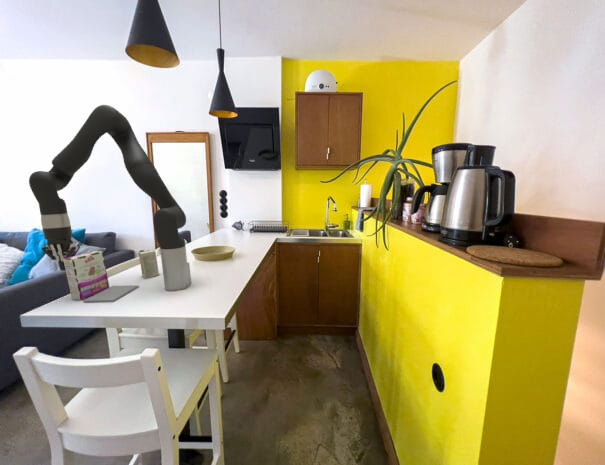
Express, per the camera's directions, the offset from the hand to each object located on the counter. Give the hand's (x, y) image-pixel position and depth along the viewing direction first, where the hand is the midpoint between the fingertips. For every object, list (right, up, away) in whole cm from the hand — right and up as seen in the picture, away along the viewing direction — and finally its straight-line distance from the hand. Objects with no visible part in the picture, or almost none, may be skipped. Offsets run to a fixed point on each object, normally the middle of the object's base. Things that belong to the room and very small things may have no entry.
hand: (65, 269), depth 93 cm
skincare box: (+20, -7, +22) cm, 30 cm away
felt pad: (+18, -10, +1) cm, 20 cm away
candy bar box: (+9, -10, +2) cm, 14 cm away
